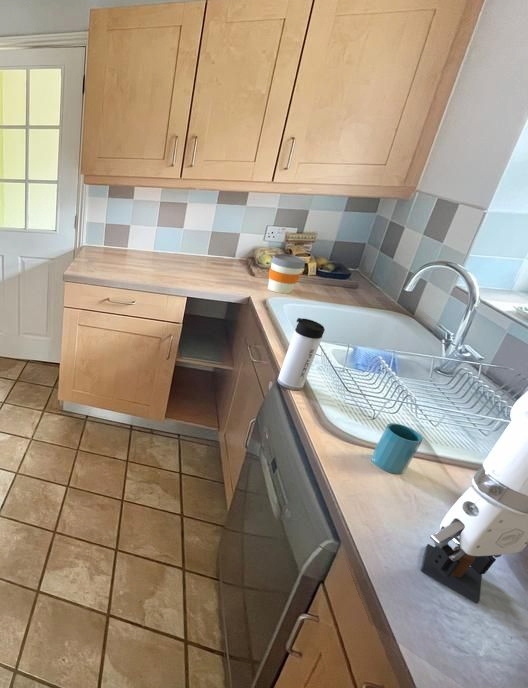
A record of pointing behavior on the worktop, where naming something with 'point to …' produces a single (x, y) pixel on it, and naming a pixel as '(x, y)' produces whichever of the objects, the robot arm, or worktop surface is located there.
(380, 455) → the cup
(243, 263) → the worktop surface
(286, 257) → the reusable coffee cup
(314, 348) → the travel mug
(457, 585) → the dark grey flat slab
